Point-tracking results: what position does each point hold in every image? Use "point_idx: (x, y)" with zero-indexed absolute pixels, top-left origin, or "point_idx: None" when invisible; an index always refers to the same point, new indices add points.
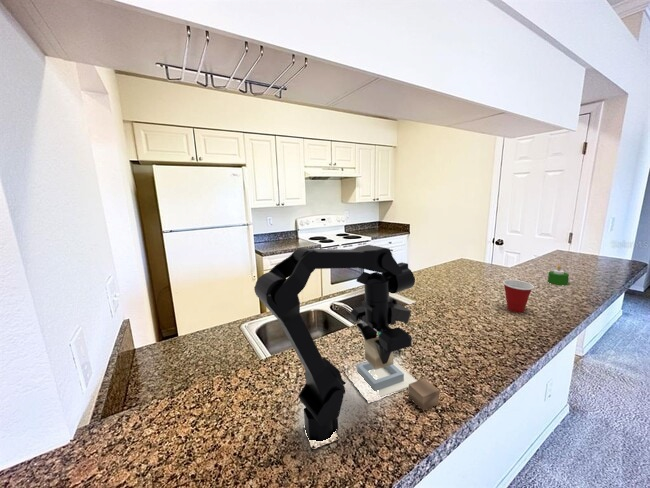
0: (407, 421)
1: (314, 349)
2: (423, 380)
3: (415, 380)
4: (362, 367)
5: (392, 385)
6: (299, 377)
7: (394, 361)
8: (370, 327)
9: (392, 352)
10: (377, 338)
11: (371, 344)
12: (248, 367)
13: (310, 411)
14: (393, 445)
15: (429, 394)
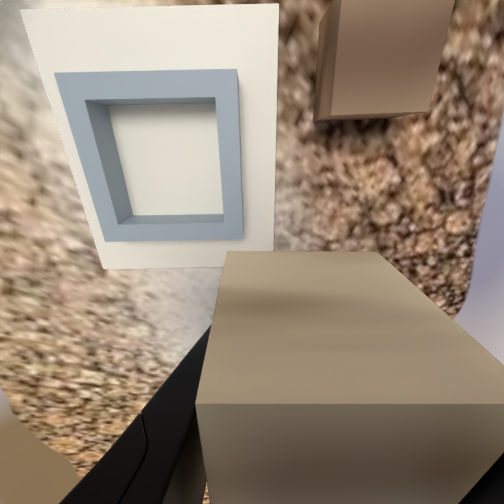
0: (384, 197)
1: None
2: (353, 4)
3: (258, 11)
4: (130, 230)
5: (243, 149)
6: (105, 367)
7: (78, 10)
8: None
9: (443, 321)
10: (240, 463)
11: None
12: (43, 438)
13: None
14: (409, 271)
15: (438, 64)
